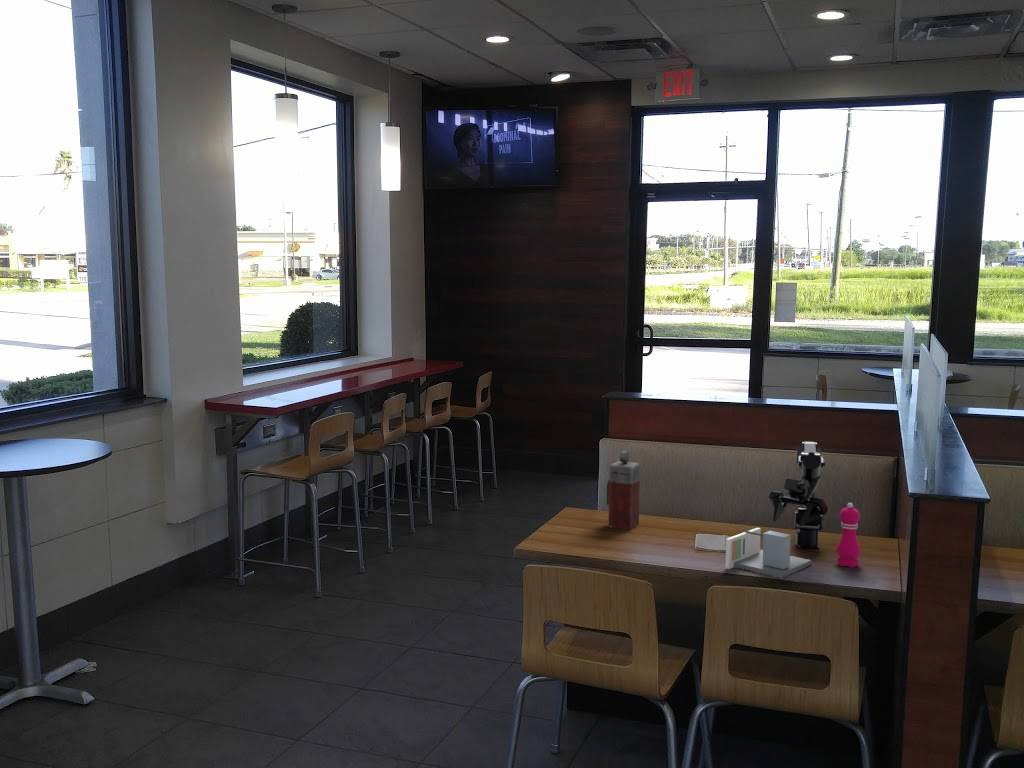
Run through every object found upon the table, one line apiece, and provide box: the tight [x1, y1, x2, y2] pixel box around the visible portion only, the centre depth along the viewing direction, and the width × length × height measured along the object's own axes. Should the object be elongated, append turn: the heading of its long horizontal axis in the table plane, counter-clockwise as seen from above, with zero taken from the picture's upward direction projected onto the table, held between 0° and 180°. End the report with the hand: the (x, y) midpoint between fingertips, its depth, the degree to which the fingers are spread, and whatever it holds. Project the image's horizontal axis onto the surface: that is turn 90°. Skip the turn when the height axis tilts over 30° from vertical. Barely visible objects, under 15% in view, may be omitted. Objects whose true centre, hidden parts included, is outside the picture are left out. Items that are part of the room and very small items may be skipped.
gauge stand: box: [725, 527, 812, 579], centre depth 282 cm, size 22×17×10 cm
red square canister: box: [606, 450, 641, 530], centre depth 332 cm, size 9×11×28 cm
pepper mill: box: [835, 502, 862, 568], centre depth 284 cm, size 7×7×20 cm
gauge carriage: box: [744, 530, 792, 569], centre depth 280 cm, size 5×14×10 cm, turn 45°
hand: (786, 523), depth 285 cm, fingers open, 9 cm apart
